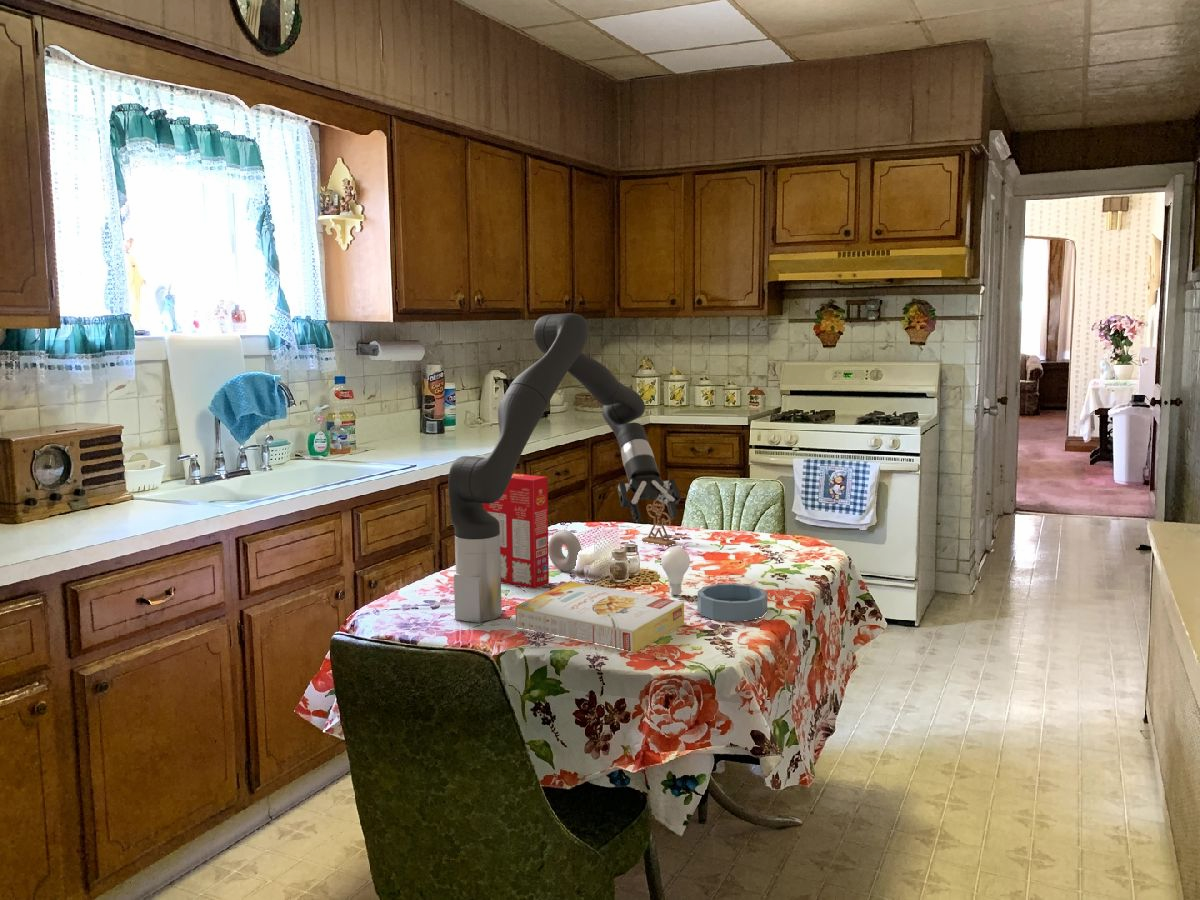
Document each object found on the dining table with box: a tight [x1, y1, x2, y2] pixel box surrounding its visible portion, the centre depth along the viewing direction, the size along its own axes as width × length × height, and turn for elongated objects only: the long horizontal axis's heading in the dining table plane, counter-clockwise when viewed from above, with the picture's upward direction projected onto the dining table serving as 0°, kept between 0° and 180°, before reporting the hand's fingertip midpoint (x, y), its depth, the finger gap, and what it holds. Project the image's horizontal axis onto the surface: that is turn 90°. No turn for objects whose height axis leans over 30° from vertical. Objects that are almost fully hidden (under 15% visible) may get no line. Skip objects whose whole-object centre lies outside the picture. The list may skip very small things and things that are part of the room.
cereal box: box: [515, 580, 685, 653], centre depth 202 cm, size 20×6×28 cm
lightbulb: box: [660, 546, 691, 597], centre depth 222 cm, size 6×6×11 cm
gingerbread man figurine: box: [641, 499, 677, 547], centre depth 271 cm, size 9×4×12 cm, turn 48°
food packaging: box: [482, 472, 550, 589], centre depth 233 cm, size 15×5×25 cm, turn 57°
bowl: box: [696, 583, 769, 622], centre depth 211 cm, size 14×14×4 cm
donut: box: [548, 530, 582, 572], centre depth 244 cm, size 10×3×10 cm, turn 48°
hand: (656, 519), depth 231 cm, fingers open, 8 cm apart
